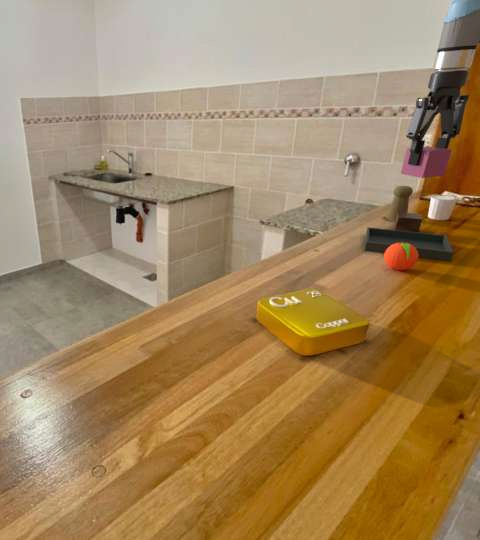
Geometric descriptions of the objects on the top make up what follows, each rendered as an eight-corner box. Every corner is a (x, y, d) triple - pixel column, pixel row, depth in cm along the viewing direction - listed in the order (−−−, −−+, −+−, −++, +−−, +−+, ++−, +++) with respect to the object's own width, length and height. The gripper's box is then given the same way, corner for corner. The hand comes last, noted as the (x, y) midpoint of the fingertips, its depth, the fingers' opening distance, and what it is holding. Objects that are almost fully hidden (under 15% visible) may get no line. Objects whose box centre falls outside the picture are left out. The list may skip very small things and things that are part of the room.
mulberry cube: (444, 175, 104) (452, 149, 101) (422, 178, 103) (429, 151, 100) (421, 171, 111) (428, 146, 108) (400, 173, 110) (406, 148, 107)
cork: (385, 214, 136) (393, 184, 132) (406, 216, 133) (414, 185, 129) (386, 219, 132) (393, 187, 127) (407, 221, 129) (416, 188, 124)
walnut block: (416, 229, 121) (420, 213, 119) (417, 234, 117) (422, 219, 115) (393, 226, 124) (397, 212, 122) (394, 232, 120) (398, 217, 118)
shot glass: (431, 220, 128) (437, 200, 125) (421, 214, 134) (427, 195, 131) (455, 220, 126) (462, 200, 124) (444, 214, 132) (450, 195, 130)
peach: (420, 277, 92) (428, 250, 89) (386, 275, 94) (393, 248, 91) (409, 264, 98) (416, 238, 96) (378, 262, 101) (384, 237, 98)
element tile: (302, 359, 67) (306, 336, 65) (251, 317, 80) (253, 297, 78) (370, 341, 70) (376, 319, 68) (311, 303, 83) (314, 284, 81)
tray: (443, 243, 110) (446, 235, 109) (450, 261, 99) (453, 252, 98) (365, 235, 119) (367, 227, 118) (364, 250, 108) (366, 242, 107)
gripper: (468, 70, 101) (442, 158, 111) (403, 73, 98) (382, 164, 108) (498, 67, 94) (468, 162, 104) (430, 71, 91) (405, 168, 101)
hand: (425, 163), depth 106 cm, fingers closed on mulberry cube, 7 cm apart
